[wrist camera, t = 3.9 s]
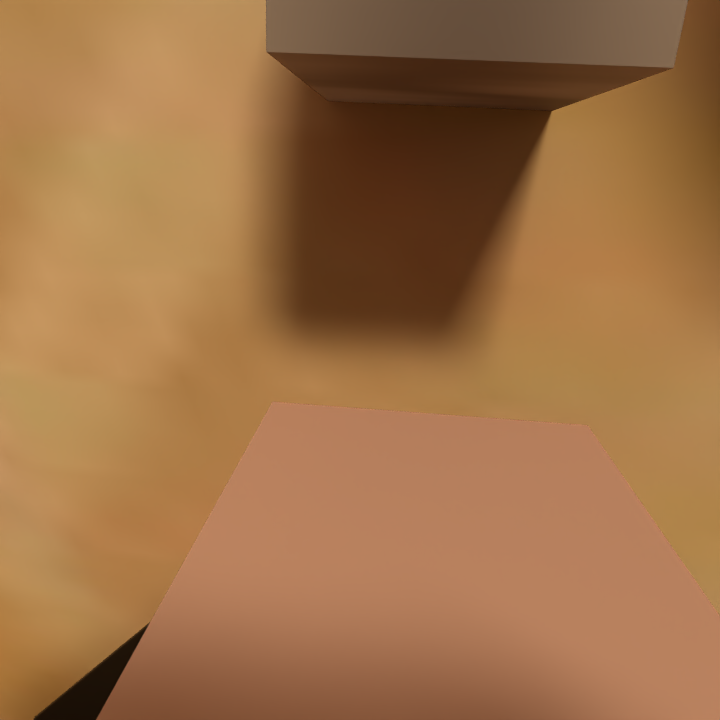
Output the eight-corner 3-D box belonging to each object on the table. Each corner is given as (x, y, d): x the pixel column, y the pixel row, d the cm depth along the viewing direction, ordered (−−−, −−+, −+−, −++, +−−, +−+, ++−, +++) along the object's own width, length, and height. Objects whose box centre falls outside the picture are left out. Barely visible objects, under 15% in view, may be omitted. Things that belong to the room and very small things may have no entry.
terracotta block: (587, 425, 9) (922, 910, 3) (537, 665, 10) (694, 1260, 5) (272, 402, 9) (48, 805, 3) (274, 639, 11) (127, 1174, 5)
